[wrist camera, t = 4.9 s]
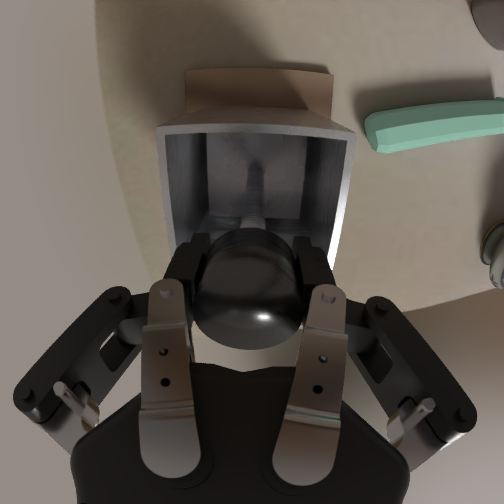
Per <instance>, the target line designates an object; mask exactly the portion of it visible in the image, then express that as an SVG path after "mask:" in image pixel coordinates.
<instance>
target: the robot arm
mask: <svg viewBox="0 0 504 504" xmlns="http://www.w3.org/2000/svg"><path fill="white" fill-rule="evenodd" d="M472 13H473V17H474V20H475V23H476V25H477V27H478V29H479V31H480V32H481V34H482V35H483V37H484V38H485V40H486V41H487V42H488V43H489V44H490V45H491V46H493V47H494V48H496V49H498V50H503V51H504V0H473V2H472ZM210 246H211V241H210V233H194V234H193V236H192V238H191V241H190V243H189V242H183V243H182V244H181V245H179V246H178V247H177V248H176V250H175V252H174V255H173V257H172V259H171V262H170V264H169V266H168V268H167V270H166V273H165V275H164V277H163V279H162V280H159V281H157V282H155V283H154V284H153V285H152V286H151V288H150V290H149V292H147V293H143V294H136V295H131V293H130V291H129V290H128V289H127V288H126V287H122V286H116V287H112V288H110V289H108V290H106V291H105V292H104V293H102V294H101V295H100V296H99V298H97V299H96V300H95V301H94V302H93V303H92V304H91V305H90V306H89V307H88V308H87V309H86V310H85V311H84V312H83V313H82V314H81V315H80V316H79V317H78V318H77V319H76V320H75V321H74V322H73V323H72V324H71V325H70V326H69V327H68V328H67V330H65V331H64V333H63V334H62V335H61V336H60V337H59V338H58V339H57V340H56V341H55V342H54V343H53V344H52V345H51V347H50V348H49V349H48V350H47V351H46V352H45V353H44V354H43V355H42V356H41V357H40V359H39V360H38V361H37V362H36V363H35V364H34V365H33V367H32V368H31V369H30V370H29V371H28V372H27V374H26V375H25V376H24V377H23V378H22V379H21V381H20V382H19V383H18V384H17V386H16V387H15V390H14V393H13V400H14V404H15V406H16V407H17V408H18V409H19V410H20V411H21V412H22V413H23V414H25V415H26V416H27V417H28V418H29V419H30V420H31V421H32V422H33V423H35V424H36V425H37V426H39V427H40V428H41V429H43V430H44V431H45V432H47V433H48V434H49V435H50V436H51V437H52V438H53V439H54V440H55V441H56V442H57V443H58V444H59V445H60V446H61V447H63V448H64V449H65V450H66V451H67V452H68V453H69V454H70V455H71V460H70V464H71V471H72V475H73V479H74V483H75V487H76V494H77V504H402V502H403V499H404V497H405V494H406V492H407V489H408V486H409V481H410V472H411V471H413V470H414V469H416V468H417V467H418V466H420V465H421V464H422V463H424V462H425V461H426V460H427V459H429V458H430V457H431V456H432V455H433V454H435V453H436V452H438V451H440V450H441V449H443V448H445V447H446V446H448V445H450V444H451V443H453V442H454V441H456V440H457V439H459V438H460V437H462V436H463V435H465V434H466V433H468V432H469V431H470V430H472V429H473V428H474V426H475V424H476V421H477V411H476V408H475V406H474V404H473V403H472V402H471V400H470V399H469V397H468V396H467V394H466V393H465V392H464V390H463V389H462V388H461V386H460V385H459V383H458V382H457V381H456V379H455V378H454V377H453V375H452V374H451V373H450V372H449V370H448V369H447V367H445V365H444V364H443V362H442V361H441V360H440V358H439V357H438V356H437V355H436V353H435V352H434V351H433V350H432V349H431V347H430V346H429V345H428V343H427V342H426V341H425V340H424V339H423V337H422V336H421V335H420V334H419V332H418V331H417V330H416V329H415V328H414V327H413V326H412V324H411V323H410V322H409V321H408V320H407V318H406V317H405V316H404V315H403V314H402V312H401V311H400V310H399V309H398V308H397V307H396V306H395V304H394V303H393V302H391V301H390V300H389V299H387V298H384V297H380V296H374V297H371V298H369V299H368V300H367V302H366V304H363V303H359V302H355V301H352V300H349V299H347V298H346V295H345V293H344V292H343V290H341V289H340V288H339V287H337V286H336V283H335V280H334V276H333V273H332V270H331V268H330V264H329V262H328V258H327V255H326V253H325V252H324V251H323V250H322V249H321V248H320V247H312V243H311V240H310V237H309V236H294V238H293V245H292V251H293V253H294V256H295V260H296V266H297V273H298V279H299V285H300V292H301V298H302V305H303V320H302V323H301V325H303V334H302V339H301V343H300V347H299V352H298V356H297V360H296V364H295V367H268V368H264V369H258V370H253V371H247V372H240V371H236V370H232V369H228V368H225V367H222V366H219V365H215V364H206V363H196V362H195V354H194V346H193V338H192V331H191V327H192V323H193V321H195V320H194V317H193V313H192V307H193V302H194V298H195V294H196V291H197V287H198V283H199V280H200V276H201V272H202V269H203V265H204V262H205V258H206V255H207V252H208V250H209V248H210ZM112 332H114V335H113V336H112V337H111V338H110V339H109V340H108V341H107V343H106V344H105V345H104V346H103V347H102V348H101V350H100V347H101V345H102V344H103V342H104V341H105V340H106V339H107V338H108V337H109V336H110V334H111V333H112ZM381 344H382V346H383V347H384V348H385V350H386V351H387V353H388V354H389V355H390V357H391V358H390V357H389V356H388V354H387V353H386V351H385V350H384V348H383V347H382V346H381ZM99 350H100V351H99ZM141 350H142V352H141V392H140V393H139V394H138V395H137V396H135V397H134V398H133V399H131V400H130V401H129V402H127V403H126V404H125V405H124V406H122V407H121V408H120V409H118V410H117V411H116V412H114V413H113V414H112V415H111V416H109V417H108V418H106V419H105V420H104V421H102V422H101V423H100V424H98V423H99V414H100V411H99V407H98V406H99V405H100V403H101V402H102V401H103V399H104V398H105V397H106V395H107V394H108V393H109V391H110V390H111V389H112V387H113V386H114V385H115V383H116V382H117V381H118V380H119V378H120V377H121V376H122V374H123V373H124V372H125V370H126V369H127V368H128V367H129V365H130V364H131V363H132V361H133V360H134V359H135V358H136V356H137V355H138V353H139V352H140V351H141ZM347 351H348V353H349V356H350V357H351V359H352V360H353V362H354V363H355V365H356V366H357V368H358V370H359V371H360V372H361V374H362V376H363V377H364V379H365V381H366V382H367V384H368V385H369V387H370V388H371V390H372V392H373V393H374V395H375V396H376V398H377V400H378V401H379V403H380V404H381V406H382V407H383V409H384V411H385V412H386V414H387V415H388V417H389V420H388V422H387V432H388V433H387V436H388V438H389V439H390V443H389V442H388V441H387V440H386V439H385V438H384V437H382V436H381V435H380V434H379V433H378V432H377V431H376V430H375V429H374V428H372V427H371V426H370V425H369V424H368V423H367V422H366V421H365V420H364V419H362V418H361V417H360V416H359V415H358V414H357V413H356V412H355V411H354V410H353V409H352V408H350V406H349V405H347V404H346V403H345V402H344V401H343V400H342V394H343V386H344V377H345V366H346V355H347ZM95 426H96V427H95Z"/></svg>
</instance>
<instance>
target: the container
mask: <svg viewBox="0 0 504 504" xmlns="http://www.w3.org/2000/svg"><path fill="white" fill-rule="evenodd" d="M364 127H365V131H366V135H367V139H368V141H369V143H370V145H371V147H372V149H374V150H375V151H377V152H381V153H385V154H387V153H392V152H396V151H401V150H406V149H410V148H415V147H420V146H426V145H431V144H436V143H442V142H448V141H454V140H460V139H466V138H472V137H479V136H487V135H494V134H502V133H504V98H502V97H496V99H495V100H475V101H459V102H447V103H436V104H428V105H420V106H412V107H405V108H399V109H392V110H387V111H381V112H376V113H372V114H370V115H369V116H368V117H367V118H365V124H364Z"/></svg>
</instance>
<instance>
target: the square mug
mask: <svg viewBox="0 0 504 504" xmlns="http://www.w3.org/2000/svg"><path fill="white" fill-rule="evenodd" d="M218 132H238V133H271V134H288V135H302V136H308V139H307V150H306V161H305V172H304V182H303V191H302V201H301V210H300V218H299V219H285V218H265V230H268V231H271V232H273V233H275V234H277V235H278V236H280V237H281V238H282V239H284V240H285V241H286V242H287V244H288V245H289V246H290V248H291V249H292V245H293V238H294V236H309V237H310V240H311V243H312V247H320V248H321V249H322V250H323V251H324V252H325V253H326V255H327V258H328V262H329V264H330V268H331V270H332V268H333V263H334V259H335V255H336V250H337V246H338V241H339V236H340V232H341V227H342V222H343V217H344V211H345V206H346V201H347V195H348V189H349V183H350V177H351V171H352V164H353V157H354V150H355V143H356V135H357V133H355V132H353V131H352V130H350V129H348V128H346V127H344V126H342V125H340V124H338V123H336V122H334V121H332V120H330V119H328V118H326V117H323V116H321V115H319V114H317V113H315V112H313V111H310V110H305V109H294V108H279V107H258V106H211V107H205V108H202V109H200V110H197V111H191V112H190V113H189V114H186V115H184V116H181V117H179V118H176V119H174V120H171V121H169V122H166V123H164V124H162V125H159V126H157V127H156V137H157V150H158V161H159V172H160V181H161V190H162V199H163V207H164V214H165V222H166V228H167V235H168V242H169V248H170V254H171V259H172V257H173V255H174V252H175V250H176V248H177V247H178V246H179V245H181V244H182V243H183V242H189V243H190V241H191V238H192V236H193V234H194V233H210V241H211V245H212V243H213V242H214V241H215V240H216V239H217V238H218V237H220V236H221V235H223V234H225V233H226V232H229V231H231V230H234V229H238V228H240V223H241V217H230V216H210V214H209V194H208V170H207V135H206V133H218Z"/></svg>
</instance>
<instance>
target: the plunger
mask: <svg viewBox="0 0 504 504" xmlns="http://www.w3.org/2000/svg"><path fill="white" fill-rule="evenodd" d="M206 135H207V170H208V194H209V214H210V216H230V217H241V223H240V228H238V229H234V230H231V231H229V232H226V233H225V234H223V235H221V236H220V237H218V238H217V239H216V240H215V241H214V242H213V243H212V245H211V246H210V248H209V250H208V252H207V255H206V258H205V262H204V265H203V269H202V272H201V276H200V280H199V283H198V287H197V291H196V294H195V298H194V302H193V307H192V313H193V317H194V320H195V322H196V324H197V326H198V327H199V329H200V330H201V331H202V332H203V333H204V334H205V335H206V336H208V337H209V338H211V339H212V340H214V341H216V342H218V343H220V344H222V345H225V346H228V347H232V348H237V349H245V350H256V349H264V348H268V347H272V346H275V345H278V344H280V343H282V342H284V341H286V340H287V339H289V338H290V337H291V336H292V335H293V334H294V333H295V332H296V331H297V330H298V329H299V327H300V325H301V323H302V320H303V305H302V298H301V292H300V285H299V279H298V273H297V266H296V260H295V256H294V253H293V251H292V249H291V248H290V246H289V245H288V244H287V242H286V241H285V240H284V239H282V238H281V237H280V236H278V235H277V234H275V233H273V232H271V231H268V230H265V218H285V219H299V218H300V210H301V201H302V191H303V182H304V172H305V161H306V150H307V139H308V136H302V135H288V134H271V133H238V132H218V133H206Z"/></svg>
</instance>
